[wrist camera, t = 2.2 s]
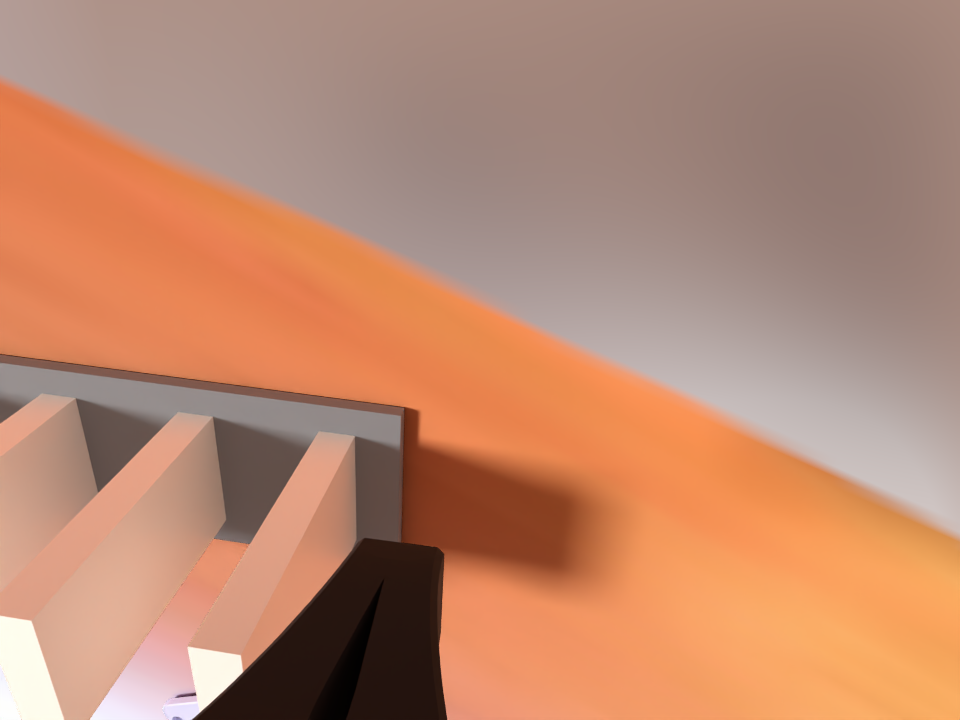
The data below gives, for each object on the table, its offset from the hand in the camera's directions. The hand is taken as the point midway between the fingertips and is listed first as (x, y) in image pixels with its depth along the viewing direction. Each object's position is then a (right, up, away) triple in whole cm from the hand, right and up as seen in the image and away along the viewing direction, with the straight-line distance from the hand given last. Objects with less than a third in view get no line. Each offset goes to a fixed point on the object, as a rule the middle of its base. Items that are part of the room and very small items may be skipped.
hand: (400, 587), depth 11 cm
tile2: (-8, 0, +12) cm, 15 cm away
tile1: (-4, -1, +12) cm, 13 cm away
